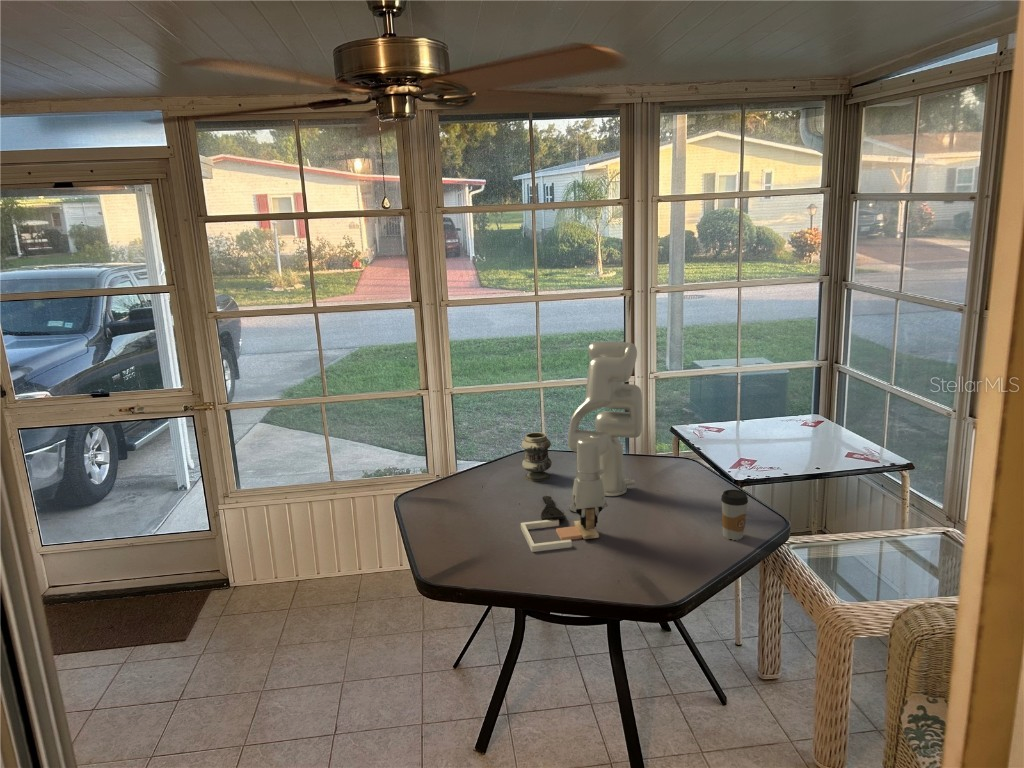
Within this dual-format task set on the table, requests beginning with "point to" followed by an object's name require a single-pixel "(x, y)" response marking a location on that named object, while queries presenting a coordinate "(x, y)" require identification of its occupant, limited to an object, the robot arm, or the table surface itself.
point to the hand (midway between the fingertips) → (589, 525)
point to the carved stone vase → (536, 456)
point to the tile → (569, 533)
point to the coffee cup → (734, 513)
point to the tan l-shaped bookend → (588, 525)
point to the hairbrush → (551, 510)
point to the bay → (547, 544)
